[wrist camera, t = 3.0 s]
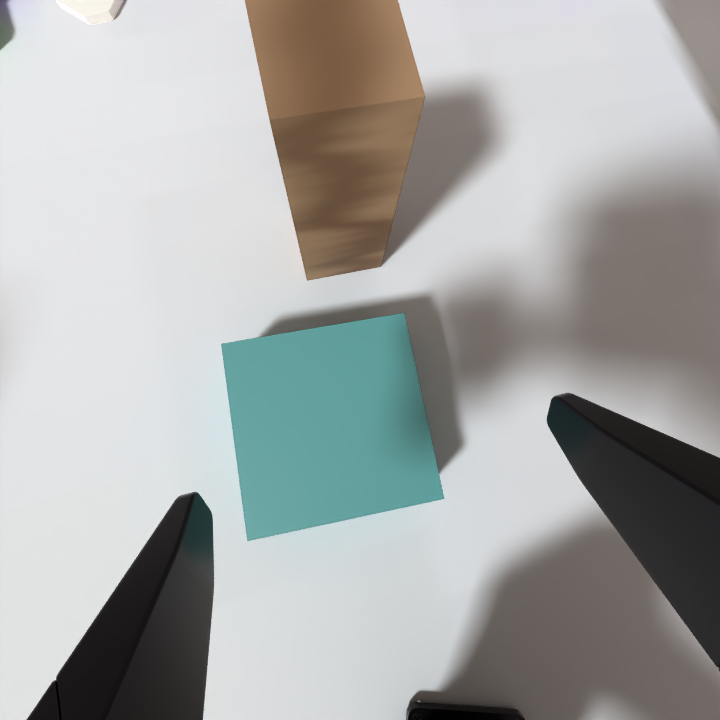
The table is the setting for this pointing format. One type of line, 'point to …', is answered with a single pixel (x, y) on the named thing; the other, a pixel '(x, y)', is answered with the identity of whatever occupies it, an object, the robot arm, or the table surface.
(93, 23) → the building block set
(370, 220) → the walnut pillar
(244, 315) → the table surface
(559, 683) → the table surface
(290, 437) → the teal base block
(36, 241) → the table surface
